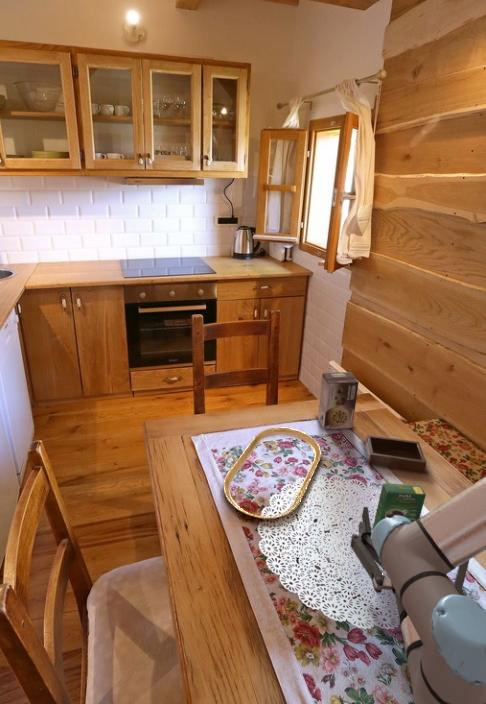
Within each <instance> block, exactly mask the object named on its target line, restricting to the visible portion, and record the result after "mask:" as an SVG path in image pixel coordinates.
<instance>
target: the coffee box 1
mask: <svg viewBox="0 0 486 704" xmlns="http://www.w3.org/2000/svg"><path fill="white" fill-rule="evenodd" d="M359 383H360V382H359V381H358V380H357V378H356V377H355V375H354V374H353V372H351V371H347V372H346V371H345V372H344V371H343V372H322V375H321V383H320V393H319V401H318V412H317V419H318V421H319V423H320V425H321V427H322V429H324V430H331V429H332V430H333V429H353V427H354V419H355V412H356V405H357V396H358V391H359V390H358V389H359Z"/></svg>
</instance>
